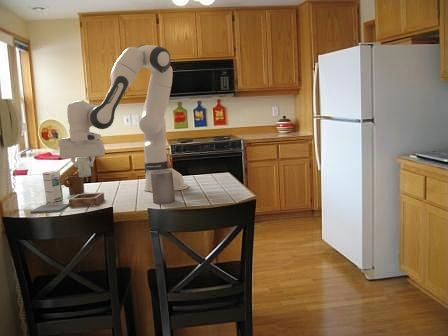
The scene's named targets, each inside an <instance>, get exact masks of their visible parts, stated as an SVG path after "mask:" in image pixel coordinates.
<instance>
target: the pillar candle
mask: <svg viewBox="0 0 448 336" xmlns="http://www.w3.org/2000/svg"><path fill="white" fill-rule="evenodd" d="M151 183H152V192H151V193H152V200H153V201H152V202H153V204H157V205H164V204H171V203H173V202H175V200H176V196H175V191H174V185H173V175H172V170H162V169H161V170H157V171H153V172H151Z"/></svg>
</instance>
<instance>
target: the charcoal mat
mask: <svg viewBox="0 0 448 336" xmlns="http://www.w3.org/2000/svg"><path fill="white" fill-rule="evenodd" d="M68 207H70V206H69V203H60V204H42V205H40V206H38V207H36V208H35V209H32V210H30V211H29V212H30V214H39V213H40V214H43V213H58V212H59V211H60V212H62V211H63V210H65V209H67V208H68Z"/></svg>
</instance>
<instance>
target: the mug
mask: <svg viewBox="0 0 448 336" xmlns="http://www.w3.org/2000/svg"><path fill="white" fill-rule="evenodd" d="M62 182H63V183H62V184H63V186H64V187H65V188H68V192H69V195H77V194H80V193H81V194H84V193H85V185H84V184H85V183H84V177H79V173H78V174H77V173H76V174H70V175H67V177H65V178H64V179H63V181H62ZM83 192H84V193H83Z"/></svg>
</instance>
